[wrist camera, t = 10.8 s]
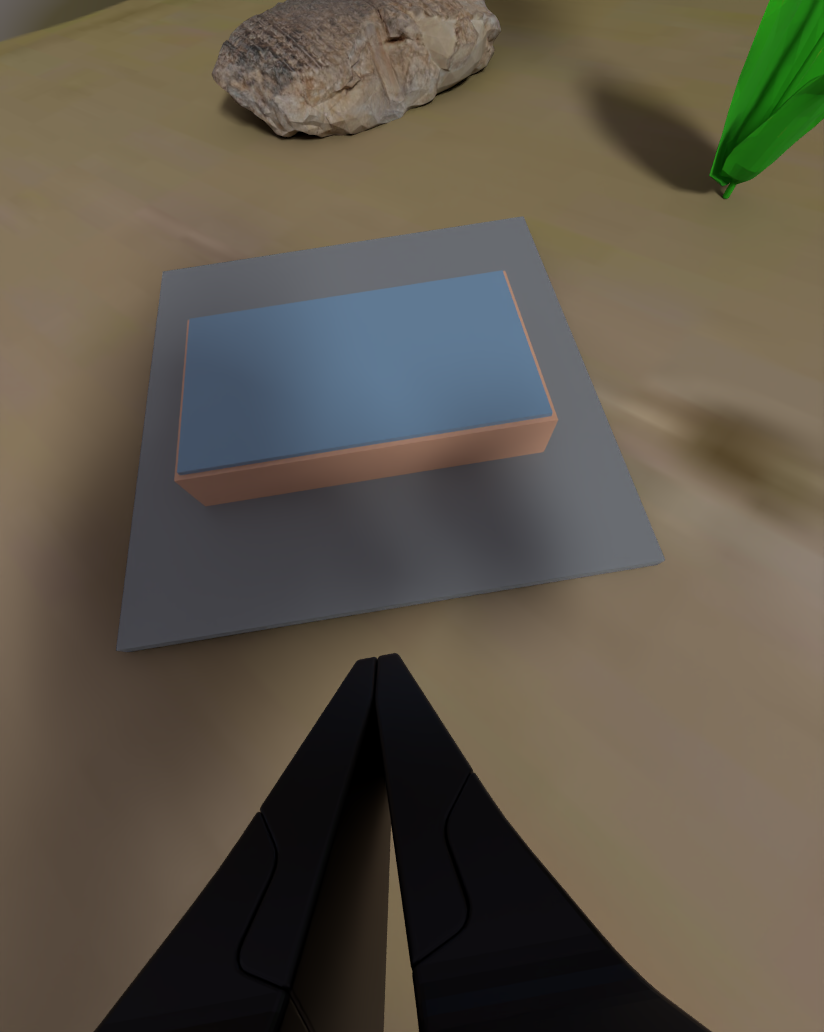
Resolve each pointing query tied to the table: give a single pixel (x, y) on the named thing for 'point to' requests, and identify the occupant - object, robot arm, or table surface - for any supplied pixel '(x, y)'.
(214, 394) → the tile
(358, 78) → the clay tablet
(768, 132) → the flower
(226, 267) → the mat
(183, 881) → the table surface
